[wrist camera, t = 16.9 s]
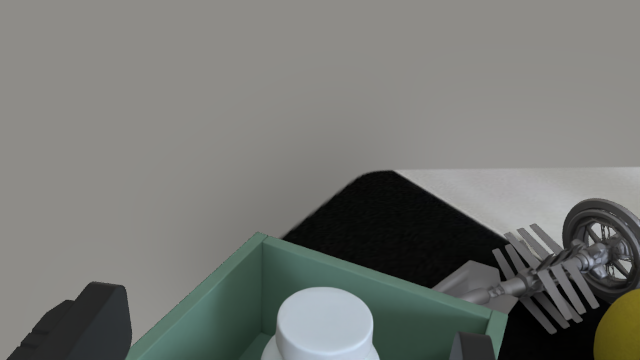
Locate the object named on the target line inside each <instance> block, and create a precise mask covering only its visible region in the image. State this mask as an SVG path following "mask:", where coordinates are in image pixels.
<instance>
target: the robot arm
mask: <svg viewBox="0 0 640 360" xmlns="http://www.w3.org/2000/svg"><path fill="white" fill-rule="evenodd" d="M131 340H132V329H131V321H130V314H129V307H128V300H127V293H126V289H125V287H124V286H122V285H116V284H109V283H101V282H91V283H89V284H88V285H87V286H86V287H85V289H84V290H83V291H82V292H81V294H80V295H79V296H78V297H77V299H76V300H75V301H72V300H65V301H64V302H62V303H61V304H59V305H57V306H56V307H55V308H53V309H51V310H50V311H49V312H47V313H46V314H45V315H44V316H43V317H42V318H41V320H40V321H39V322H38V323H37V324H36V325H35V327H34V328H33V329H32V332H31V333H29V334H28V335H27V336H26V337H25V338H24V340H23V341H22V342H21V345H20V347H17V348H16V349H15V350H14V352H13V353H12V354H11V355H10V356H9V357H8V359H7V360H125V359H126V357H127V355H128V352H129V349H130V346H131ZM449 360H496V358H495V354H494V349H493V344H492V340H491V337H490V336H489V335H483V334H476V333H468V332H461V331H457V332H456V334H455V337H454V341H453V345H452V350H451V354H450V358H449Z"/></svg>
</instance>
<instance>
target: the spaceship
mask: <svg viewBox="0 0 640 360" xmlns="http://www.w3.org/2000/svg"><path fill="white" fill-rule="evenodd" d="M602 210H604V211H602ZM610 212H611V213H612V214H611V213H610ZM613 214H614V215H613ZM615 215H616V216H615ZM619 217H620V218H619ZM595 223H599V224H601V231H602V238H601V239H602V241H601V240H600V239H599V237H598V236H597V235H596V234H595V233H594V231H593V230H592V229H591V227H592V226H593V225H594V224H595ZM606 223H607V224H606ZM529 226H530V227H531V228H532V229H533V231H534V232H535V233H536V234H537V235H538V236H539V237H540V238H541V239H542V240H543V241H544V242H545V243H546V245H547V246H548V247H549V248H550V249H551V250H552V251H553V252H554V253H555V254H556V256H554V257H552V256H553V255H554V253H553V254H549V253H548V252H547V251H546V250H545V249H544V248H543V247H542V246H541V245H540V244H539V243H538V242H537V241H536V240H535V239H534V238H533V237H532V236H531V235H530V234H529V233H528V232H527V231H526V230H525V229H524V228H520V229H517V231H518V232H519V234H520V235H521V236H522V237H523V238H524V239H525V240H526V241H527V242H528V244H529V245H530V246H531V247H532V248H533V249H534V250H535V251H536V252H537V254H538V255H539V256H540V257H541V258H542V259H543V262H542V263H540V262H539V261H538V260H537V259H536V258H535V257H534V256H533V255H532V253H531V251H530V250H529V248H528V247H527V245H526V244H525V242H524V241H523V240H521V241H518V240H517V239H516V238H515V237H514V236H513V235H512V234H511V233H510V232H509V233H506V234H504V236H505V237H506V238H507V239H508V240H509V241H510V243H511V244H512V245H513V246H514V247H515V248H516V250H517V251H518V252H519V253H520V254H521V255H522V256H523V258H524V259H525V260H526V261H527V262H528V263H529V265H530V267H529V268H525V266H524V264H523V263H522V261H521V260H520V258H519V256H518V255H517V253H516V251H515V250H514V248H513V247H512V245H511V244H509V245H507V246H505V248H506V250H507V252H508V254H509V255H510V257H511V259H512V261H513V263H514V265H515V267H516V269H517V271H518V272H519V273H518V274H517V275H516V276H515V275H514V273H513V271H512V270H511V268H510V266H509V265H508V263H507V262H506V260H505V258H504V257H503V255H502V253H501V252H500V250H499V249H495V250H493V253H494V255H495V257H496V259H497V261H498V263H499V265H500V267H501V269H502V271H503V273H504V275H505V277H506V278H507V280H508V281H505V282H500V276H499V270H498V269H496V268H493V267H490V266H487V265H484V264H480V263H477V262H474V261H471V260H470V261H468V262H467V263H466V264H464V265H463V266H462V267H460V268H459V269H458V270H456V271H455V272H454V273H452V274H451V275H450V276H448V277H447V278H446V279H444V280H443V281H441V282H440V283H439V284H437V285H436V286H435V287H433V288H432V290H435V291H438V292H441V293H444V294H447V295H450V296H453V297H456V298H459V299H462V300H465V301H468V302H471V303H474V304H477V305H480V306H484V307H487V308H490V309H491V310H496V311H499V312H502V313H505V314H507V315H508V313H509V312H510V311H511V309H512V308H513V306H514V305H515V304H516V302H517V301H518V300H520V301H521V302H522V303H523V304H524V306H525V307H526V308H527V309H528V310H529V311H530V312H531V313H532V314H533V315H534V317H535V318H536V319H537V320H538V321H539V322H540V323H541V324H542V325H543V327H544V328H545V329H546V330H547V331H548V332H549V333H550V334H553V333H555V332H557V330H556V329H555V328H554V327H553V325H552V324H551V323H550V322H549V321H548V319H547V318H546V317H545V316H544V314H543V313H542V312H541V311H540V310H539V308H538V307H537V306H536V305H535V304H534V302H533V301H532V300H531V299H530V297H531V296H532V295H533V297H535V298H536V299H537V301H538V302H539V303H540V304H541V305H542V306H543V307H544V308H545V309H546V310H547V311H548V312H549V313H550V314H551V316H552V317H553V318H554V319H555V320H556V321H557V322H558V323H559V324H560V325H561V326H562V327H563V328H564V329H565V328H567V327H569V326H570V325H569V323H568V322H567V321H566V320H569V319H571V318H572V319H573V320H574V321H575V322H576V323H578V322H581V321H583V320H582V318H581V317H580V316H579V315H578V314H577V313H576V311H575V310H574V309H573V308H572V307H571V306H570V305H569V303H568V302H567V301H566V300H565V299H564V298H563V297H562V295H561V294H560V293H559V291H558V289H557V288H556V286H557V285H558V284H560V285H561V286H562V288H563V289H564V291H565V292H566V294H567V296H568V297H569V299H570V300H571V302H572V304H573V305H574V307H575V308H576V310H577V311H578V313H579V314H582V313H585V312H586V310H585V308H584V306H583V305H582V303H581V301H580V299H579V298H578V296H577V294H576V292H575V291H574V289H573V287H572V285H571V284H570V282H569V280H568V278H569V277H570V276H572V277H573V279H574V281H575V282H576V284H577V285H578V287H579V288H580V290H581V291H582V293H583V294H584V296H585V298H586V299H587V301H588V302H589V304H590V305H591V307H592V308H593V309H594V308H596V307H599V304H598V302H597V301H596V299H595V297H594V295H593V294H595V295H596V296H598V297H599V298H601V299H603V300H605V301H607V302H610V303H614V302H615V301H616V300H617V299H618V298H620V297H621V296H622V295H624V294H626V293H628V292H630V291H632V290H636V289H640V220H639V219H638V218H637V217H636V216H635V215H634V214H633V213H632V212H630V211H629V210H628V209H626V208H625V207H623V206H621V205H619V204H617V203H615V202H612V201H609V200H605V199H599V198H592V199H587V200H583V201H581V202H579V203H578V204H576V205H575V206H574V207H573V208H572V209H571V210H570V212H569V213H568V215H567V217H566V219H565V221H564V225H563V232H562V239H563V247H564V250H563V249H562V248H561V247H560V246H559V245H558V244H557V243H556V242H555V241H553V240H552V239H551V238H550V237H549V236H548V235H547V234H546V233H545V232H544V231H543V230H542V229H541V228H540V227H539V226H538V225H537V224H532V225H529ZM602 226H603V229H602ZM605 226H606V227H607V226H608V227H607V229H608V232H609V227H611V228H612V229H613V230H614V231H615V232H616V234H615V235H613V236H612V237H610V232H609V234H608V237H609V239H608V238H607V239H606V238H605V230H604V228H605ZM616 229H617V230H616ZM603 231H604V235H603ZM589 235H590V237H591V238H592V240H593V241H594V242H595V244H593V245H591V246H589V241H588V237H589ZM603 236H604V237H603ZM625 258H629V259H625ZM619 259H620V260H624V259H625V260H624V261H628V260H631V261H628V262H631V264H632V267H631V269H630V272H629V273H628V272H627V271H626V269H625V268H624V267H623V266H622V265H621V263H620V262H619V261H618V260H619ZM633 261H634V262H633ZM604 264H605V265H606V270H605V268H604ZM607 264H609V265H608V272H607ZM611 264H612V265H611ZM613 265H614V266H615V267H616V268H617V269H618V270H619V271H620V273H621V274H623V275H624V276H625V277H626V278H627V279H619V278H615V276H614V277H613V275H614V267H613ZM609 266H612V267H613V268H612V267H611V268H612V269H613V273H612V276H611V274H610V272H609ZM608 273H609V274H608ZM631 274H632V275H631ZM544 290H545V291H546V292H547V293H548V294H549V295H550V296H551V297H552V299H553V300H554V302H555V304H556V305H557V307H558V308H559V310H560V312H561V313H562V315H563V316H564V318H565V319H566V320H565V319H564V318H563V316H562V315H561V314H560V313H559V312H558V311H557V309H556V308H555V307H554V306H553V305H552V303H551V302H550V301H549V300H548V299H547V298H546V296H545V295H544V294H543V293H542V292H541V291H544ZM592 293H593V294H592Z"/></svg>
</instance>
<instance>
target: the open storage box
mask: <svg viewBox="0 0 640 360" xmlns="http://www.w3.org/2000/svg"><path fill="white" fill-rule="evenodd" d="M312 287H332V288H337V289H341V290H345V291H347V292H349V293H351V294H353V295H355V296H357V297H358V298H360V299H361V300H362V301H363V302H364V303H365V304H366V305H367V307H368V308H369V310H370V312H371V314H372V317H373V336H372V344H373V346H374V348H375V349H376V351H377V353H378V356H379V359H380V360H449V358H450V354H451V350H452V345H453V341H454V337H455V334H456V332H457V331H461V332H468V333H476V334H483V335H489V336H490V337H491V340H492V344H493V349H494V354H495V358H496V360H497V358H498V354H499V350H500V346H501V342H502V339H503V335H504V331H505V327H506V323H507V319H508V315H507V314H505V313H502V312H499V311H496V310H491V309H490V308H487V307H484V306H480V305H477V304H474V303H471V302H468V301H465V300H462V299H459V298H456V297H453V296H450V295H447V294H444V293H441V292H438V291H435V290H432V289H429V288H426V287H423V286H420V285H417V284H414V283H411V282H408V281H405V280H402V279H399V278H396V277H393V276H389V275H386V274H383V273H380V272H377V271H374V270H371V269H368V268H365V267H362V266H359V265H356V264H353V263H350V262H347V261H344V260H341V259H338V258H335V257H332V256H329V255H326V254H323V253H320V252H317V251H314V250H311V249H308V248H305V247H301V246H298V245H295V244H292V243H289V242H286V241H283V240H280V239H277V238H274V237H271V236H268V235H266V234H262V233H260V232H257V233H255V234H254V235H253V236H252V237H251V238H250V239H249V240H248V241H247V242H245V243H244V244H243V245H242V246H241V247H240V248H239V249H238V250H237V251H236V252H235V253H234V254H233V255H231V256H230V257H229V258H228V259H227V260H226V261H225V262H224V263H223V264H221V265H220V266H219V267H218V268H217V269H216V270H215V271H214V272H213V273H212V274H210V275H209V276H208V277H207V278H206V279H205V280H204V281H203V282H202V283H201V284H200V285H199V286H197V287H196V288H195V289H194V290H193V291H192V292H191V293H190V294H189V295H187V296H186V297H185V298H184V299H183V300H182V301H181V302H180V303H179V304H178V305H177V306H175V307H174V308H173V309H172V310H171V311H170V312H169V313H168V314H167V315H166V316H164V317H163V318H162V319H161V320H160V321H159V322H158V323H157V324H156V325H155V326H154V327H153V328H151V329H150V330H149V331H148V332H147V333H146V334H145V335H144V336H143V337H141V338H140V339H139V340H138V341H137V342H136V343H135V344H134V345H133V346H132V347H131V348H130V349H129V352H128V355H127V357H126V359H125V360H261V357H262V354H263V351H264V349H265V347H266V345H267V343H268V342H269V341H270V339H271V338H272V337H273V336H274V335H275V333H276V326H277V315H278V311H279V309H280V307H281V305H282V304H283V302H284V301H285V300H286V299H287V298H288V297H290V296H291V295H293V294H294V293H296V292H298V291H301V290H304V289H307V288H312Z"/></svg>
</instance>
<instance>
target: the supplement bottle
mask: <svg viewBox="0 0 640 360" xmlns="http://www.w3.org/2000/svg"><path fill="white" fill-rule="evenodd" d="M372 336H373V317H372V314H371V312H370V310H369V308H368V307H367V305H366V304H365V303H364V302H363V301H362V300H361V299H360V298H358V297H357V296H355V295H353V294H351V293H349V292H347V291H345V290H341V289H337V288H332V287H312V288H307V289H304V290H301V291H298V292H296V293H294V294H293V295H291V296H290V297H288V298H287V299H286V300H285V301H284V302H283V304H282V305H281V307H280V309H279V311H278V315H277V326H276V333H275V335H274V336H273V337H272V338H271V339H270V341H269V342H268V343H267V345H266V347H265V349H264V351H263V354H262V357H261V360H380V359H379V356H378V353H377V351H376V349H375V348H374V346H373V344H372Z"/></svg>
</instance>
